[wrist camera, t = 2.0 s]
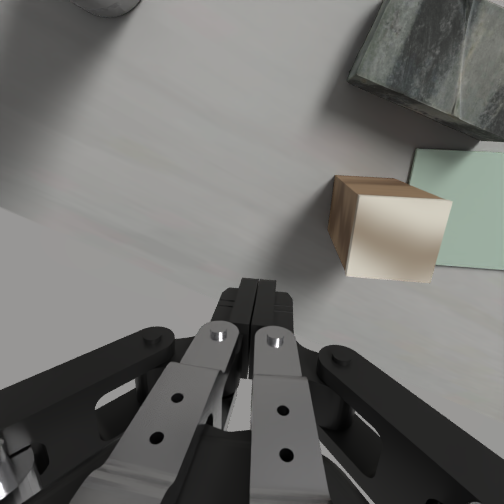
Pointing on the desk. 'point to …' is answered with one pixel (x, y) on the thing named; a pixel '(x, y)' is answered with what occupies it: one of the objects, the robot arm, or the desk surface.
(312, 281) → the desk surface
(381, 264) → the walnut block
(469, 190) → the sage mat
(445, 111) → the stone block
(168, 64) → the desk surface
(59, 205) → the desk surface
